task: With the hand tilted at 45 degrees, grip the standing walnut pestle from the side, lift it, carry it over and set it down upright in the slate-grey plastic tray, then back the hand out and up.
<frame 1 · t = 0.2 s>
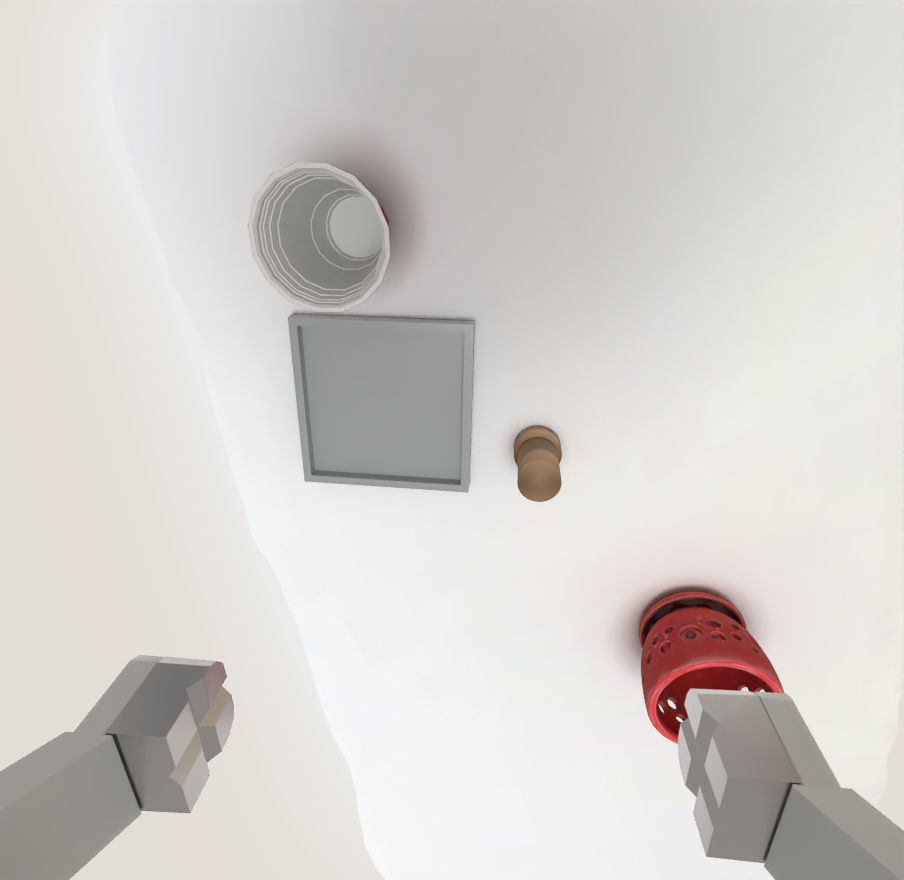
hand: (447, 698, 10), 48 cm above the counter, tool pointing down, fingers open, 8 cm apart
grey tray: (386, 403, 60), on the counter
plastic cup: (359, 230, 53), on the counter
walnut pestle: (537, 446, 60), on the counter
plant pot: (685, 624, 68), on the counter
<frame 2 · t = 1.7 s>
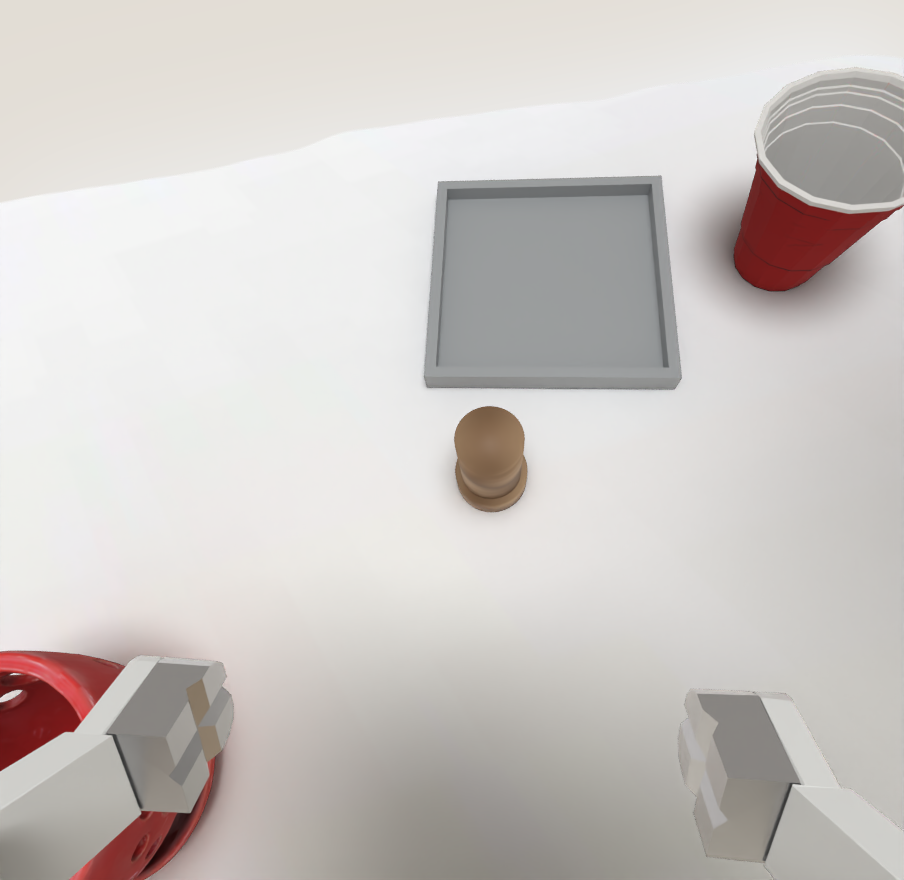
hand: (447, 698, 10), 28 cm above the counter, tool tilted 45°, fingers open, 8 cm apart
grey tray: (547, 285, 45), on the counter
plastic cup: (767, 263, 45), on the counter
walnut pestle: (491, 478, 40), on the counter
plant pot: (132, 763, 36), on the counter
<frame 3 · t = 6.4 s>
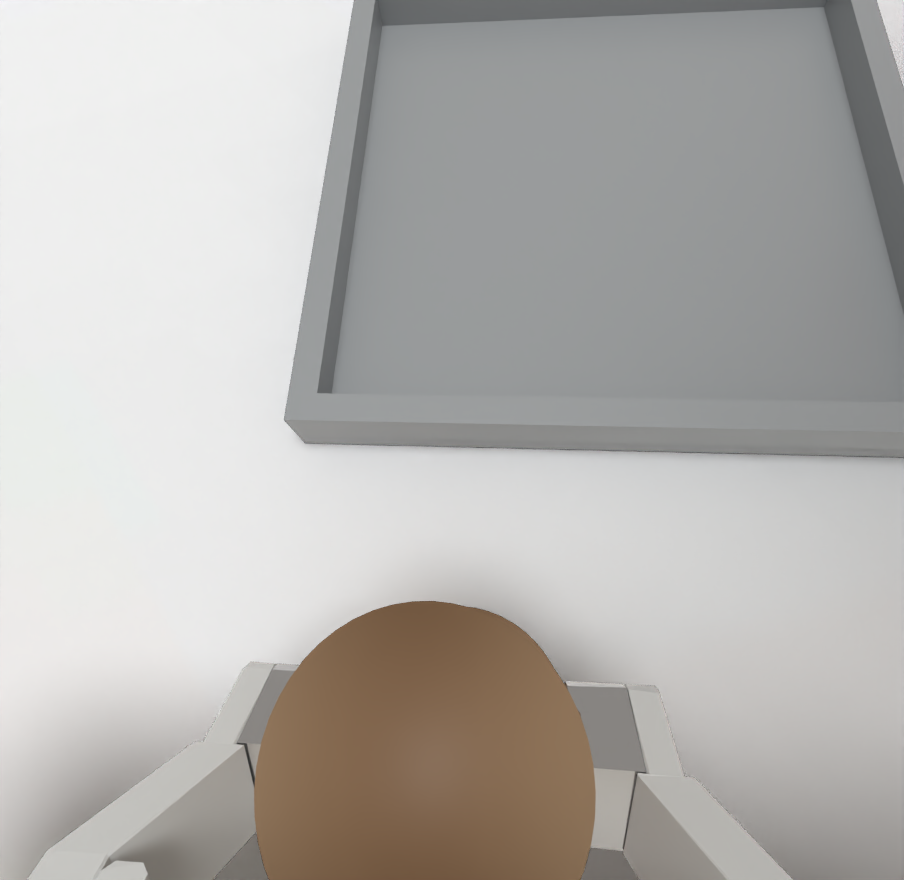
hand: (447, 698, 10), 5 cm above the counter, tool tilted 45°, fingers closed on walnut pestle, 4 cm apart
grey tray: (601, 199, 19), on the counter
walnut pestle: (461, 713, 14), on the counter, touching gripper
when the fingers open (6 cm above the counter, at t = 12.5 s): walnut pestle drops 1 cm, resting on grey tray.
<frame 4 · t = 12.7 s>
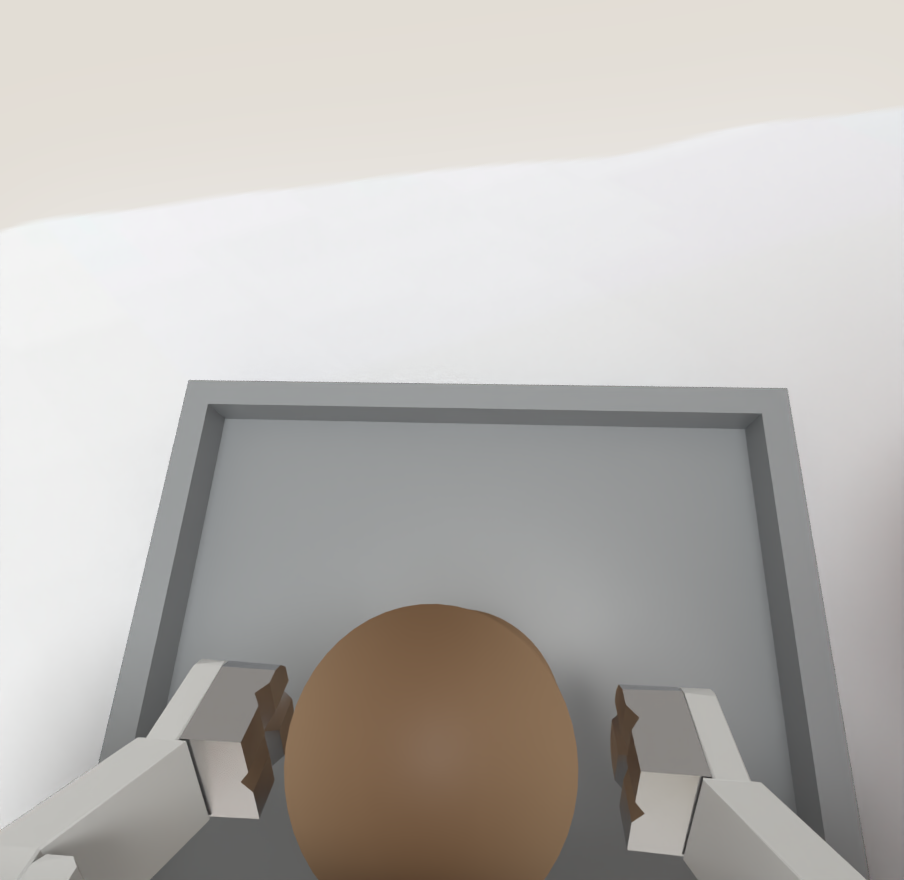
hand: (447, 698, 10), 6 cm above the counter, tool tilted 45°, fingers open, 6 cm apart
grey tray: (464, 707, 16), on the counter
walnut pestle: (464, 708, 15), point 1 cm above the counter, touching grey tray
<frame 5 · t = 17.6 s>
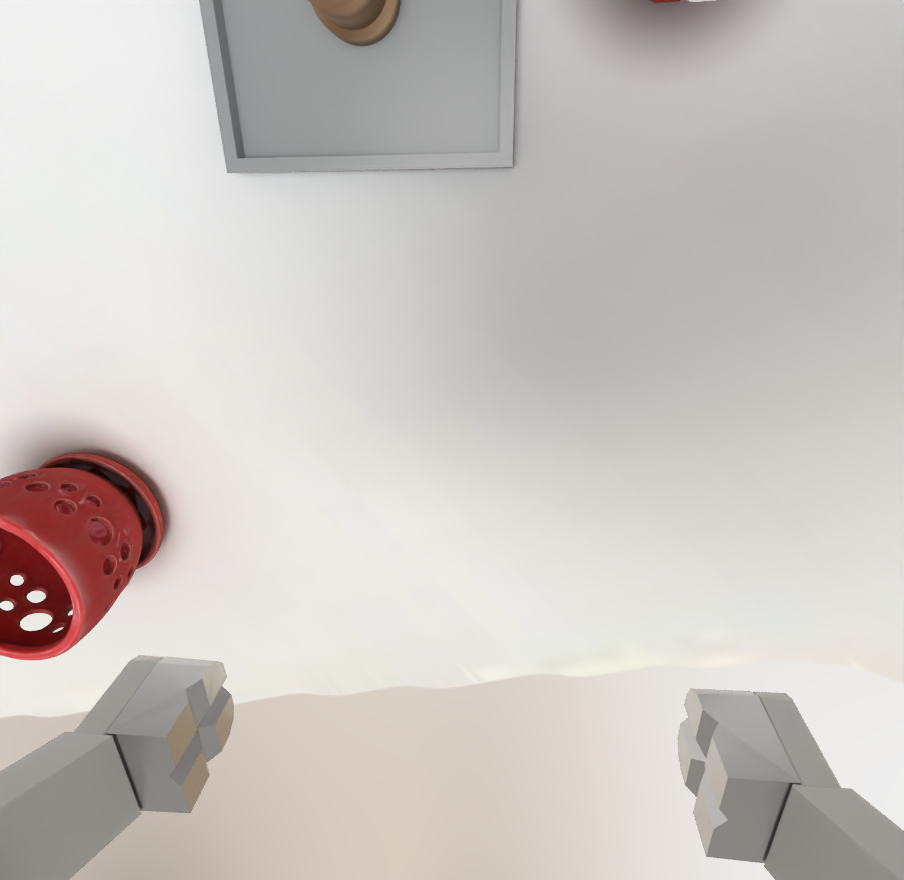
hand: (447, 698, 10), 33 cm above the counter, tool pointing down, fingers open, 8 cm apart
plant pot: (105, 502, 50), on the counter
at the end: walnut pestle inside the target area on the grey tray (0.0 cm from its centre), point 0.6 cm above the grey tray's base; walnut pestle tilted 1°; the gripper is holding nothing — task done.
